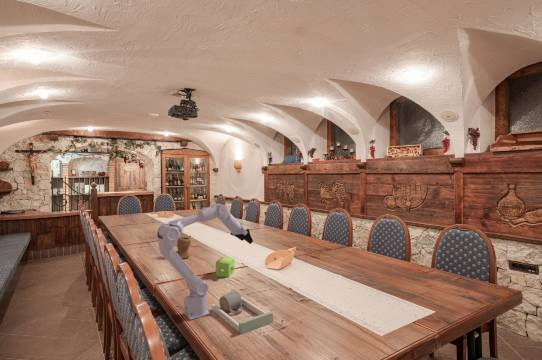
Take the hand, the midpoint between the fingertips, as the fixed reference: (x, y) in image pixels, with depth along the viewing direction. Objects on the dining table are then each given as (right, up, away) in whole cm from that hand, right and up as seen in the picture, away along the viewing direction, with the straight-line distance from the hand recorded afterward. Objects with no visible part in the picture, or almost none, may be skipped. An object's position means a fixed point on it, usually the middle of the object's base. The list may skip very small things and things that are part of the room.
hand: (247, 240), depth 155 cm
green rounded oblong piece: (-16, -28, +36) cm, 48 cm away
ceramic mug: (-6, -29, -13) cm, 33 cm away
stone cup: (-55, -28, +79) cm, 100 cm away
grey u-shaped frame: (-2, -29, -18) cm, 35 cm away
